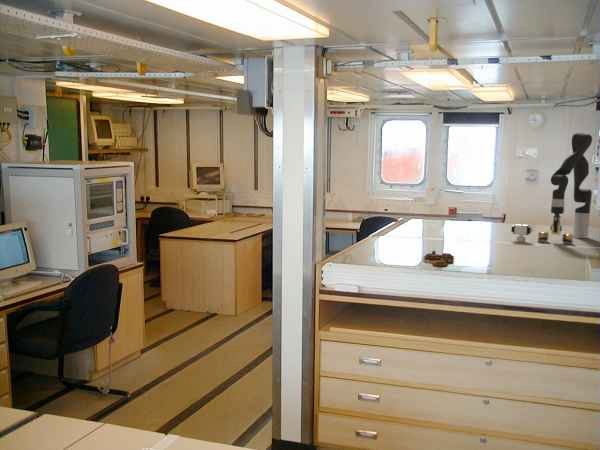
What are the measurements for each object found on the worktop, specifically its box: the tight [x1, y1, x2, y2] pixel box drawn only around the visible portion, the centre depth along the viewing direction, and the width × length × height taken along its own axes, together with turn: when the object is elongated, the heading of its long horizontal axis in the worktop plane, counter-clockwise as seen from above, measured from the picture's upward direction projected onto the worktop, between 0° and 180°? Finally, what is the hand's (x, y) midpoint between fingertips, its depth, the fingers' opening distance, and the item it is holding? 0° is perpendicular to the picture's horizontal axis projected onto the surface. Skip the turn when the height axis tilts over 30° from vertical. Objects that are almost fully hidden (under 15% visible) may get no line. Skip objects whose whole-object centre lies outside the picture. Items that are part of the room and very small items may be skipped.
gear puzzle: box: [422, 250, 455, 267], centre depth 325 cm, size 31×16×4 cm, turn 166°
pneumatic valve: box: [510, 223, 533, 243], centre depth 397 cm, size 6×12×12 cm, turn 57°
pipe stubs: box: [537, 230, 574, 246], centre depth 393 cm, size 6×20×7 cm, turn 61°
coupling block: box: [549, 222, 563, 236], centre depth 392 cm, size 7×5×7 cm
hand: (555, 232), depth 392 cm, fingers closed on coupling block, 5 cm apart
